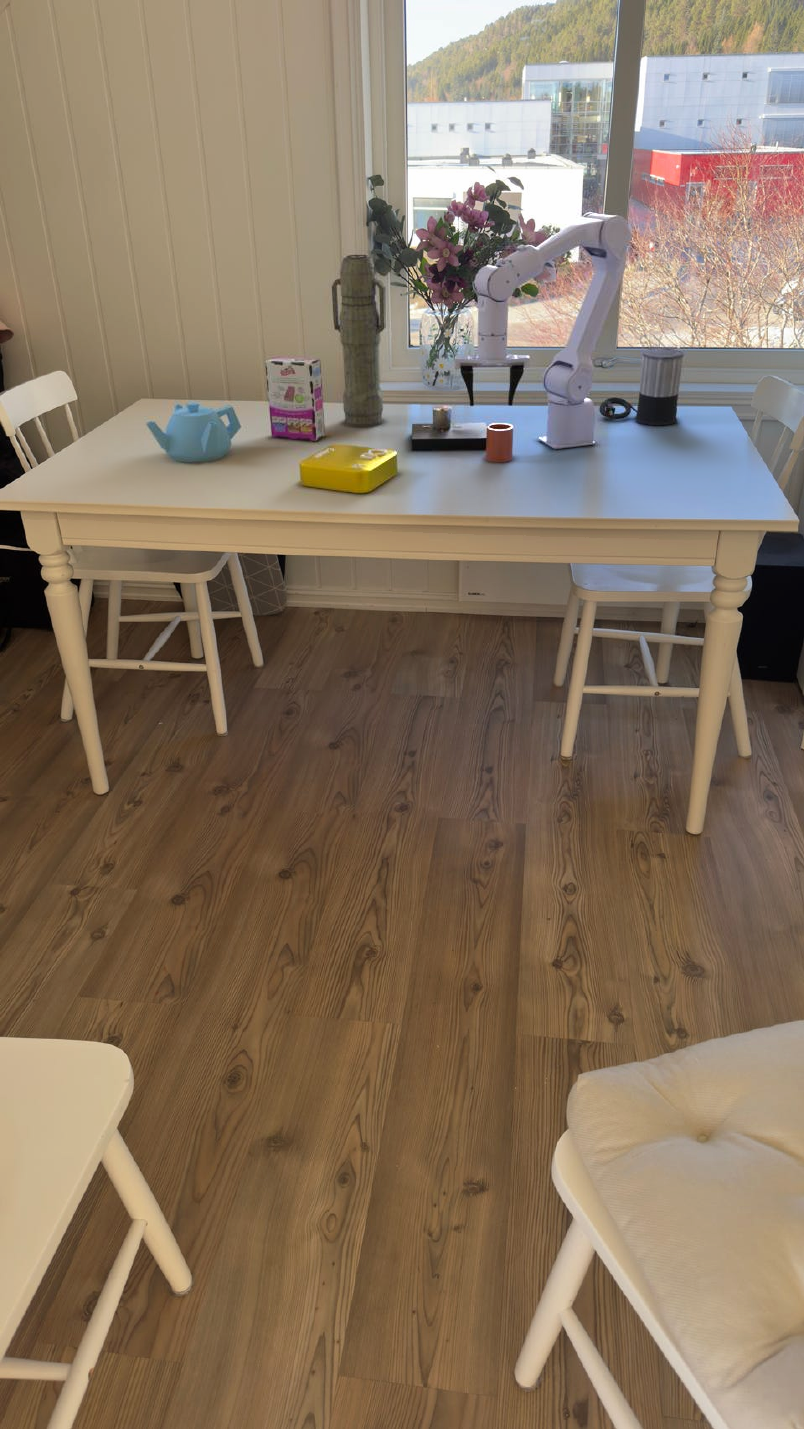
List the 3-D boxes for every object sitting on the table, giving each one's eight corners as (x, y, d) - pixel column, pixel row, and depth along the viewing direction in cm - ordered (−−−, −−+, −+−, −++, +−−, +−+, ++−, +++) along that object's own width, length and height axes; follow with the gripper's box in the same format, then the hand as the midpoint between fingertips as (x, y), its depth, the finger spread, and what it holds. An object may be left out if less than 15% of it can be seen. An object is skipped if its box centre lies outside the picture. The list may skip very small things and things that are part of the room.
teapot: (218, 467, 207) (212, 414, 201) (149, 464, 210) (142, 410, 205) (245, 446, 220) (240, 395, 214) (180, 443, 223) (174, 392, 217)
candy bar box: (326, 436, 225) (321, 358, 217) (316, 442, 221) (311, 363, 213) (281, 431, 229) (275, 355, 221) (270, 437, 225) (263, 360, 217)
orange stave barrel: (505, 453, 211) (506, 422, 208) (516, 460, 207) (517, 428, 204) (481, 456, 210) (482, 424, 206) (492, 463, 205) (492, 431, 202)
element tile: (334, 464, 207) (333, 440, 205) (401, 472, 202) (400, 448, 199) (296, 485, 196) (294, 461, 193) (366, 495, 190) (365, 470, 188)
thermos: (385, 427, 230) (380, 258, 212) (334, 426, 232) (325, 258, 214) (392, 417, 238) (388, 253, 220) (343, 416, 239) (335, 253, 222)
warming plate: (485, 432, 225) (485, 420, 224) (488, 449, 214) (488, 437, 212) (412, 433, 226) (412, 421, 224) (411, 451, 214) (411, 438, 213)
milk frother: (684, 424, 228) (692, 355, 220) (618, 430, 225) (624, 360, 217) (656, 409, 240) (663, 342, 232) (593, 414, 237) (598, 347, 229)
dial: (432, 424, 222) (432, 404, 220) (451, 424, 222) (451, 404, 220) (432, 429, 219) (432, 409, 217) (451, 429, 219) (451, 408, 217)
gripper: (455, 338, 195) (454, 410, 202) (531, 337, 194) (528, 409, 201) (455, 331, 201) (454, 401, 208) (529, 330, 201) (526, 400, 207)
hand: (490, 404), depth 205 cm, fingers open, 7 cm apart
